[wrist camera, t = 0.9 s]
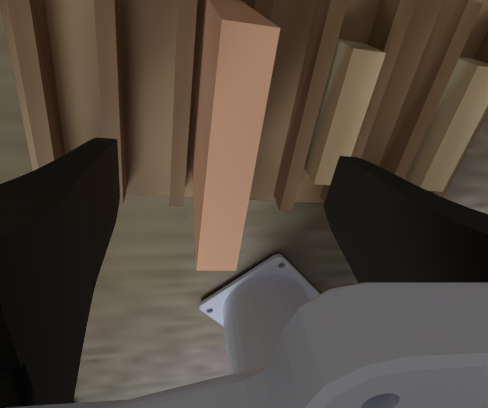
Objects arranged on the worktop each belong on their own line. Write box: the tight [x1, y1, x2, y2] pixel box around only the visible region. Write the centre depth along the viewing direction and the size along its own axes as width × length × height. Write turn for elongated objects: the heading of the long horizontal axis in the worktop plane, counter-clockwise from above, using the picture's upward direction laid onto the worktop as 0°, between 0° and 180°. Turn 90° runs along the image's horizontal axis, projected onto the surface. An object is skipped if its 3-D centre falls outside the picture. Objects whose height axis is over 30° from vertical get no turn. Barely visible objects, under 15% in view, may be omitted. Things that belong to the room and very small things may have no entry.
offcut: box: [304, 38, 386, 185], centre depth 19 cm, size 2×7×3 cm, turn 172°
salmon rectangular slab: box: [192, 0, 280, 271], centre depth 15 cm, size 2×9×8 cm, turn 172°
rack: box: [0, 0, 488, 211], centre depth 19 cm, size 26×13×3 cm, turn 82°
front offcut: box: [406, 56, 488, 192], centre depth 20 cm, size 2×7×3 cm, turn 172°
